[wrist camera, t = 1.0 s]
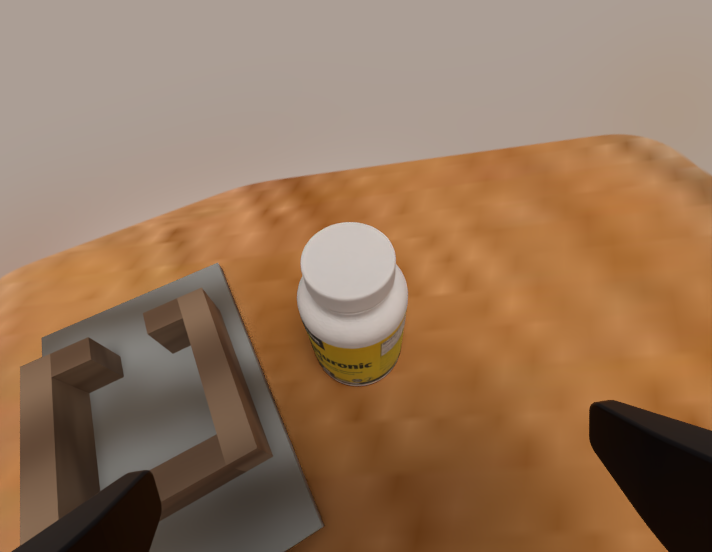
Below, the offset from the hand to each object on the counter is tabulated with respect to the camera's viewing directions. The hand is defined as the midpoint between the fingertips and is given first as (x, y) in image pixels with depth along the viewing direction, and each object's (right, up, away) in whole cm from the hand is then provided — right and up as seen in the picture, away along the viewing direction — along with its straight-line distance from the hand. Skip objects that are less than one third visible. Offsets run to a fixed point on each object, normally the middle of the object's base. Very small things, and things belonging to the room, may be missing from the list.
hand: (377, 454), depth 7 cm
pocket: (-12, -5, +14) cm, 19 cm away
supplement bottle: (0, -1, +16) cm, 16 cm away
